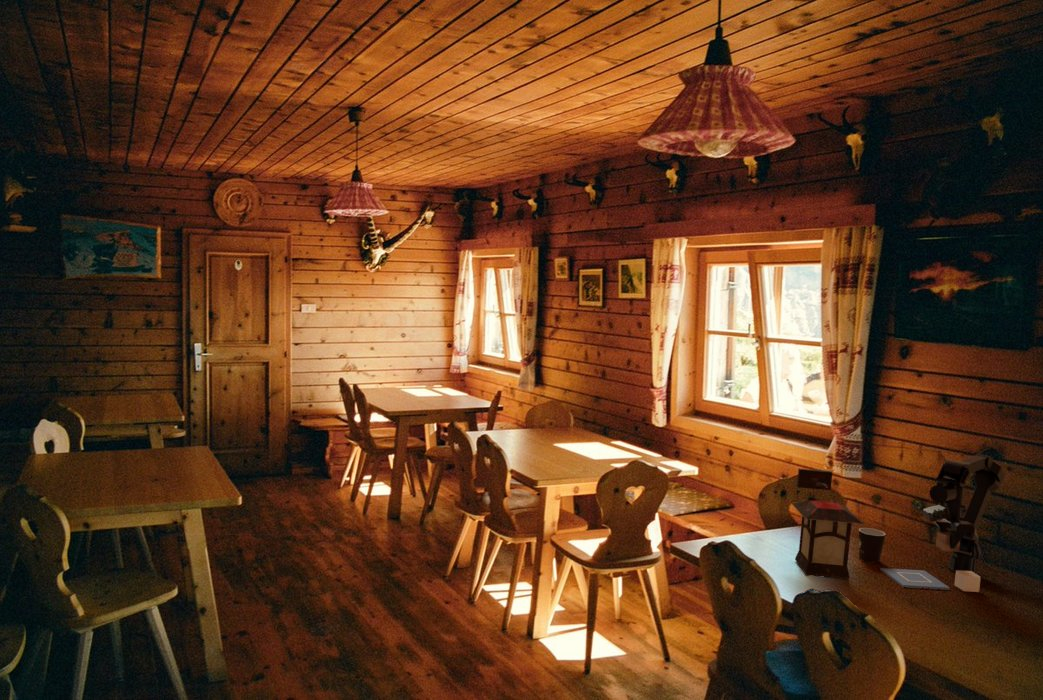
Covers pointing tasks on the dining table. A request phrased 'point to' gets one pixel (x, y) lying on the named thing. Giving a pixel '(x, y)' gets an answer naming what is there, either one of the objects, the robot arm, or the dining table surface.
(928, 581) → the board
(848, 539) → the lantern
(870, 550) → the coffee mug
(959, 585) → the cream block
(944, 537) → the walnut block
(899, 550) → the dining table surface
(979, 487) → the robot arm
